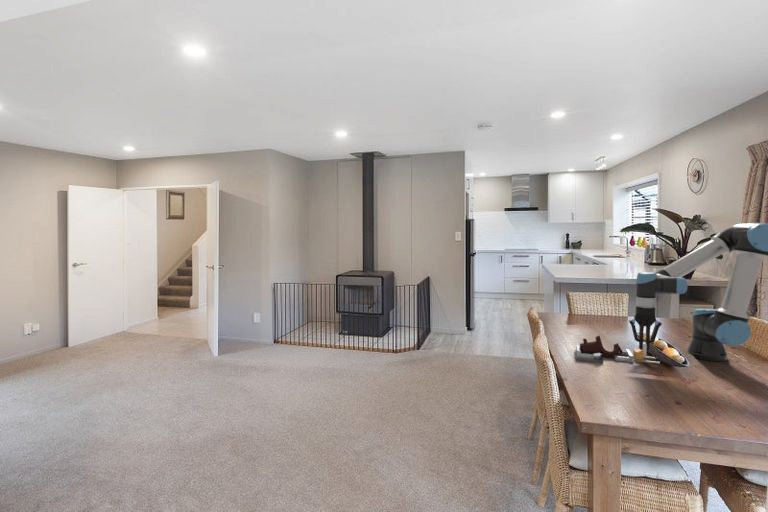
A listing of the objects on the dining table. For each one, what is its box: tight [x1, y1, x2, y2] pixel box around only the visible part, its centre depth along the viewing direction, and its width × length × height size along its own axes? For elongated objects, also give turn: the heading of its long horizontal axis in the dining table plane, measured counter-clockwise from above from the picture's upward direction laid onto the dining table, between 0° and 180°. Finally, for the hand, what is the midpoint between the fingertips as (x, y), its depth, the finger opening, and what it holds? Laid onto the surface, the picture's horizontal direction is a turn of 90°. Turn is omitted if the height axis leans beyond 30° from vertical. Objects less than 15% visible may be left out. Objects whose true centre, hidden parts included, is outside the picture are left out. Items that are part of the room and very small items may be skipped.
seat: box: [574, 344, 661, 365], centre depth 193 cm, size 34×13×4 cm, turn 68°
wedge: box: [632, 348, 644, 360], centre depth 189 cm, size 3×5×4 cm, turn 158°
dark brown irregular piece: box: [579, 334, 624, 358], centre depth 195 cm, size 6×17×10 cm, turn 78°
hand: (643, 356), depth 188 cm, fingers closed
